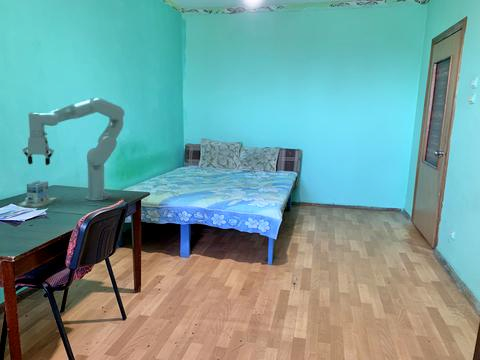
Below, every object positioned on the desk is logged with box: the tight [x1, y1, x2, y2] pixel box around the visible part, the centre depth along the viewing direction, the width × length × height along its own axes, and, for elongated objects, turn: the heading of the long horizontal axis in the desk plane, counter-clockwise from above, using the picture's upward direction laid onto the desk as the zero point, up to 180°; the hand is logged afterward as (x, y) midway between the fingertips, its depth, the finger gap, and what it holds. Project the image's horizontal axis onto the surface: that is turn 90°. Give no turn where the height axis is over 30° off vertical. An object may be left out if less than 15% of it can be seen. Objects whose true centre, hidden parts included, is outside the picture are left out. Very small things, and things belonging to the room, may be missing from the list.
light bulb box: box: [26, 180, 50, 203], centre depth 213 cm, size 11×7×11 cm, turn 175°
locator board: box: [17, 197, 59, 208], centre depth 214 cm, size 14×18×1 cm
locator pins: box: [25, 197, 38, 205], centre depth 213 cm, size 6×16×4 cm, turn 0°
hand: (39, 164), depth 211 cm, fingers open, 9 cm apart
